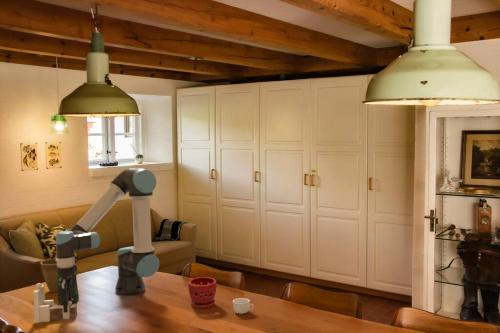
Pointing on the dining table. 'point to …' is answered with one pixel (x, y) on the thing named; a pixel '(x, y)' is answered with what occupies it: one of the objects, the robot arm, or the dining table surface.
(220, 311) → the dining table surface
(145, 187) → the robot arm
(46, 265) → the plant pot
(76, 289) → the coffee jar
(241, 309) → the teacup
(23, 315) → the dining table surface
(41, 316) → the cream u-shaped bracket
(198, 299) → the plant pot
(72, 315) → the rail
